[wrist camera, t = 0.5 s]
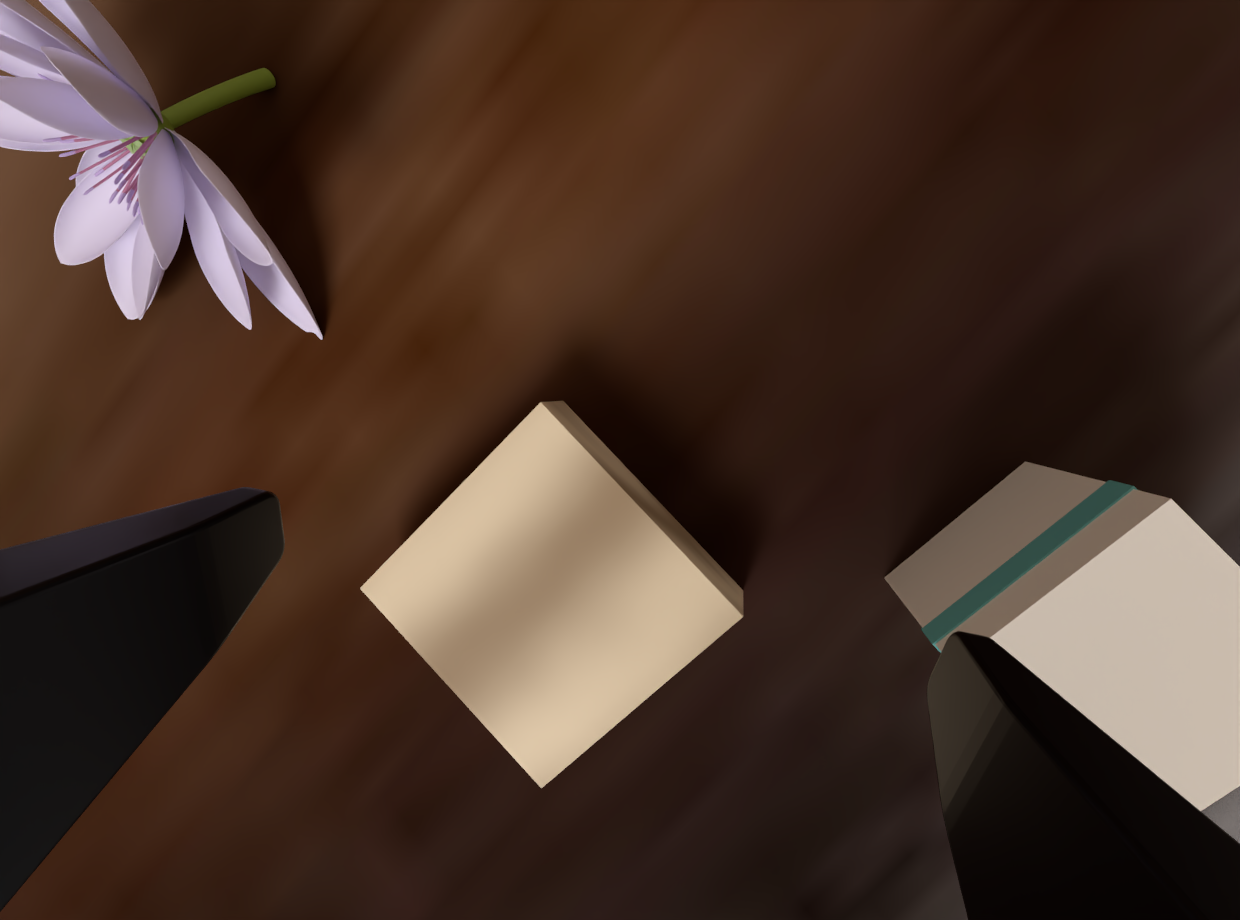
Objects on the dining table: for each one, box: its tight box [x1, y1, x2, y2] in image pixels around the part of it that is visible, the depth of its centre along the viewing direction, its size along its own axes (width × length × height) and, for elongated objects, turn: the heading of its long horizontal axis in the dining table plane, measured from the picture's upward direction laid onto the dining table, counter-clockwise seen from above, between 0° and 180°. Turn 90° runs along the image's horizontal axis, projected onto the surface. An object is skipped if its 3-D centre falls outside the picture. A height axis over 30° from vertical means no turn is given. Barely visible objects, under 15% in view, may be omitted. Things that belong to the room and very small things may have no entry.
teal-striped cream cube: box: [884, 462, 1240, 811], centre depth 17 cm, size 6×6×7 cm
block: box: [360, 401, 743, 788], centre depth 22 cm, size 9×9×3 cm
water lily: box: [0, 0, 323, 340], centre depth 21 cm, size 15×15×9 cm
